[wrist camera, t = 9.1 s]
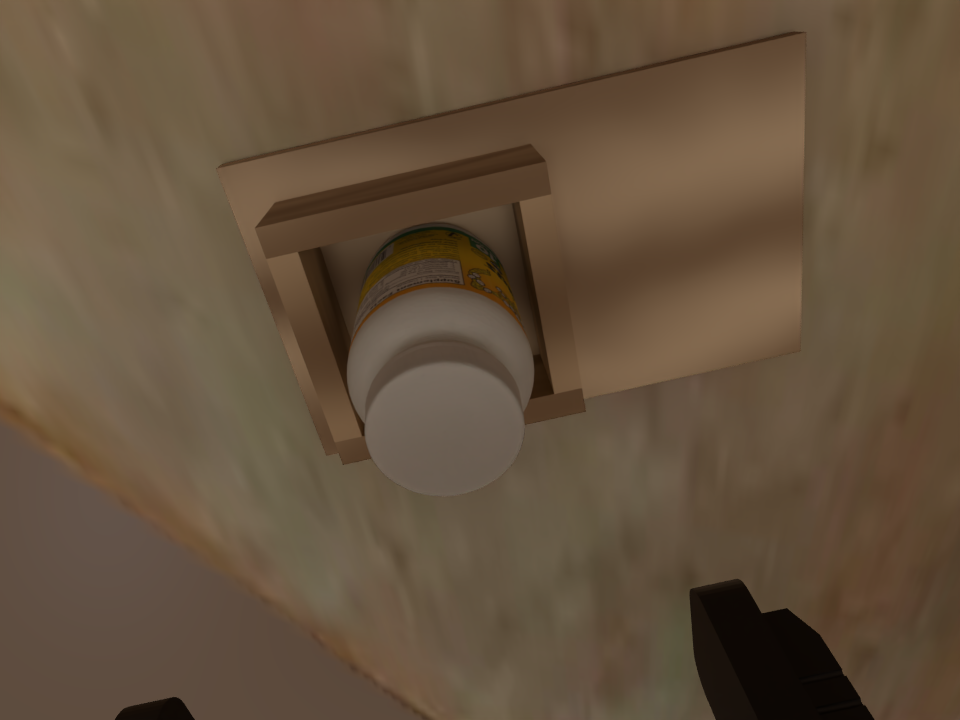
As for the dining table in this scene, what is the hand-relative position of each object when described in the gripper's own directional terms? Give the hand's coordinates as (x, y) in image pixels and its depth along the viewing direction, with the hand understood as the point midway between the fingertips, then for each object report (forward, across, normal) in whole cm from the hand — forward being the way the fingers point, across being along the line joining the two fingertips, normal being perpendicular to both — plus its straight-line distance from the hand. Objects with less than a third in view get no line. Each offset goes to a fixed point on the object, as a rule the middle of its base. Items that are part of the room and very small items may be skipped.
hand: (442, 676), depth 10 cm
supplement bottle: (+17, 0, 0) cm, 17 cm away
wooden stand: (+17, -4, 0) cm, 18 cm away
